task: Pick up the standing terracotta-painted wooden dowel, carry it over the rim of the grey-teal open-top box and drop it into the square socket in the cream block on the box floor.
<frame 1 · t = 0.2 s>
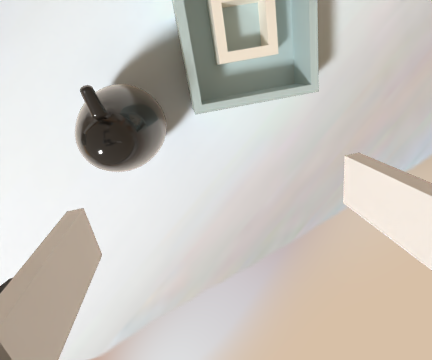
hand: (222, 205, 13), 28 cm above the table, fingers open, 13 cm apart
box: (238, 30, 35), on the table
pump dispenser: (130, 120, 38), on the table
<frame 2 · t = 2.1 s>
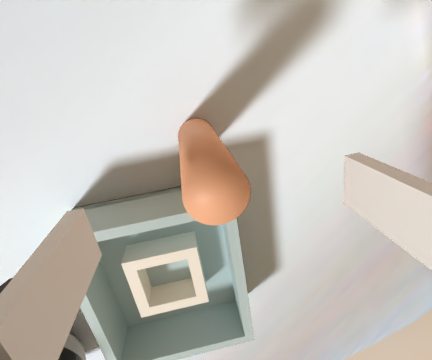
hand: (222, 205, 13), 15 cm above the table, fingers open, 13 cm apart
box: (168, 259, 32), on the table
peg: (196, 136, 27), on the table
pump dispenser: (53, 342, 34), on the table
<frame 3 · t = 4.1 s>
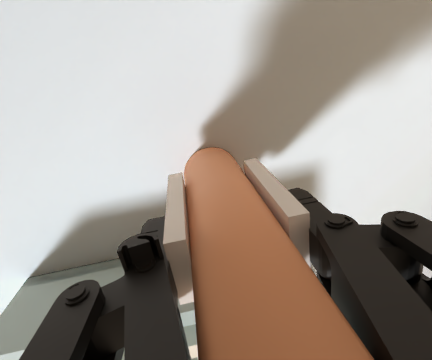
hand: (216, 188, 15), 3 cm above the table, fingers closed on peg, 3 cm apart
box: (169, 338, 23), on the table
peg: (211, 173, 18), on the table, touching gripper
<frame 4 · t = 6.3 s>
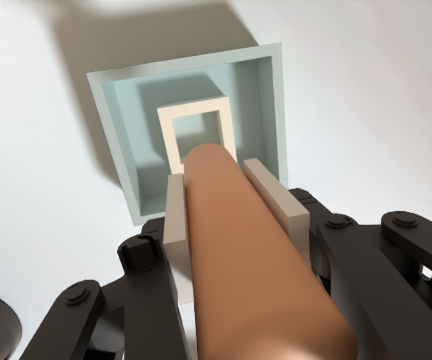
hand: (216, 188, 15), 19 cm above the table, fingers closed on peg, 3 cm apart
box: (196, 131, 33), on the table
peg: (209, 167, 19), point 15 cm above the table, touching gripper
when the fingers open (6 cm above the table, at t = 8.8 s): peg stays where it is, resting on box.
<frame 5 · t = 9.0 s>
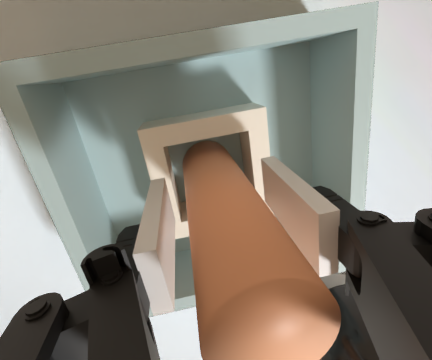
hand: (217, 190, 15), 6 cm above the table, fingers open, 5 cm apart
box: (206, 160, 20), on the table
peg: (207, 164, 19), point 1 cm above the table, touching box
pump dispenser: (318, 295, 28), on the table
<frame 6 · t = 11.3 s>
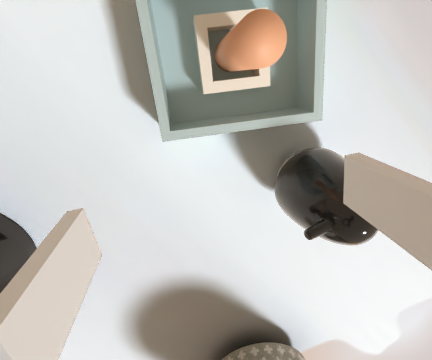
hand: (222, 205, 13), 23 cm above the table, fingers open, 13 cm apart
box: (228, 55, 32), on the table
peg: (229, 55, 31), point 1 cm above the table, touching box
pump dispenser: (299, 174, 39), on the table
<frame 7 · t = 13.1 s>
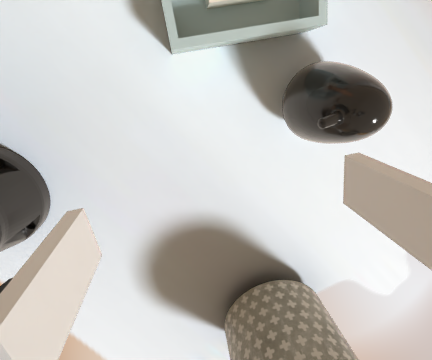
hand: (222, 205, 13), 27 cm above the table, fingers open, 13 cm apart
planter: (268, 305, 53), on the table
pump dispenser: (305, 100, 39), on the table
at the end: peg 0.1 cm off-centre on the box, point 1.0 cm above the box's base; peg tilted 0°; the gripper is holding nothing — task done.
